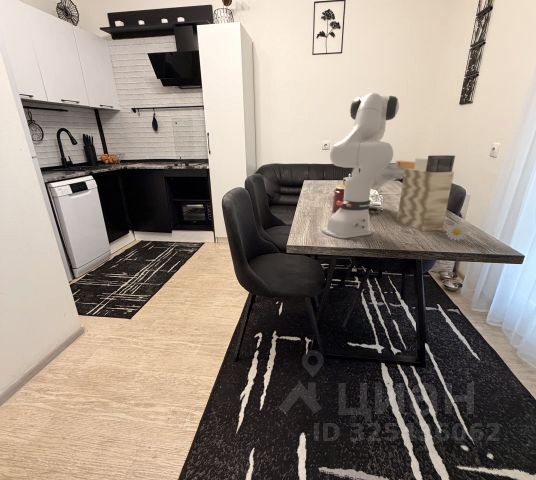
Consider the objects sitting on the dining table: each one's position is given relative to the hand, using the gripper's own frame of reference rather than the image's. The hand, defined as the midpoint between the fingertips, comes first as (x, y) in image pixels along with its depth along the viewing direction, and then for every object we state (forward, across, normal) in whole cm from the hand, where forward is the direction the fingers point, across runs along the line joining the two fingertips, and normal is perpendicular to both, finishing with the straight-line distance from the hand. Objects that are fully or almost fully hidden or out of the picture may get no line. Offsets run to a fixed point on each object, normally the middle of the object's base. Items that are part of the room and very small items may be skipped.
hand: (402, 163), depth 145 cm
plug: (+7, 0, +6) cm, 9 cm away
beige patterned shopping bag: (+2, 0, +34) cm, 34 cm away
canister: (-28, -23, +17) cm, 40 cm away
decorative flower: (+17, 0, +43) cm, 46 cm away
